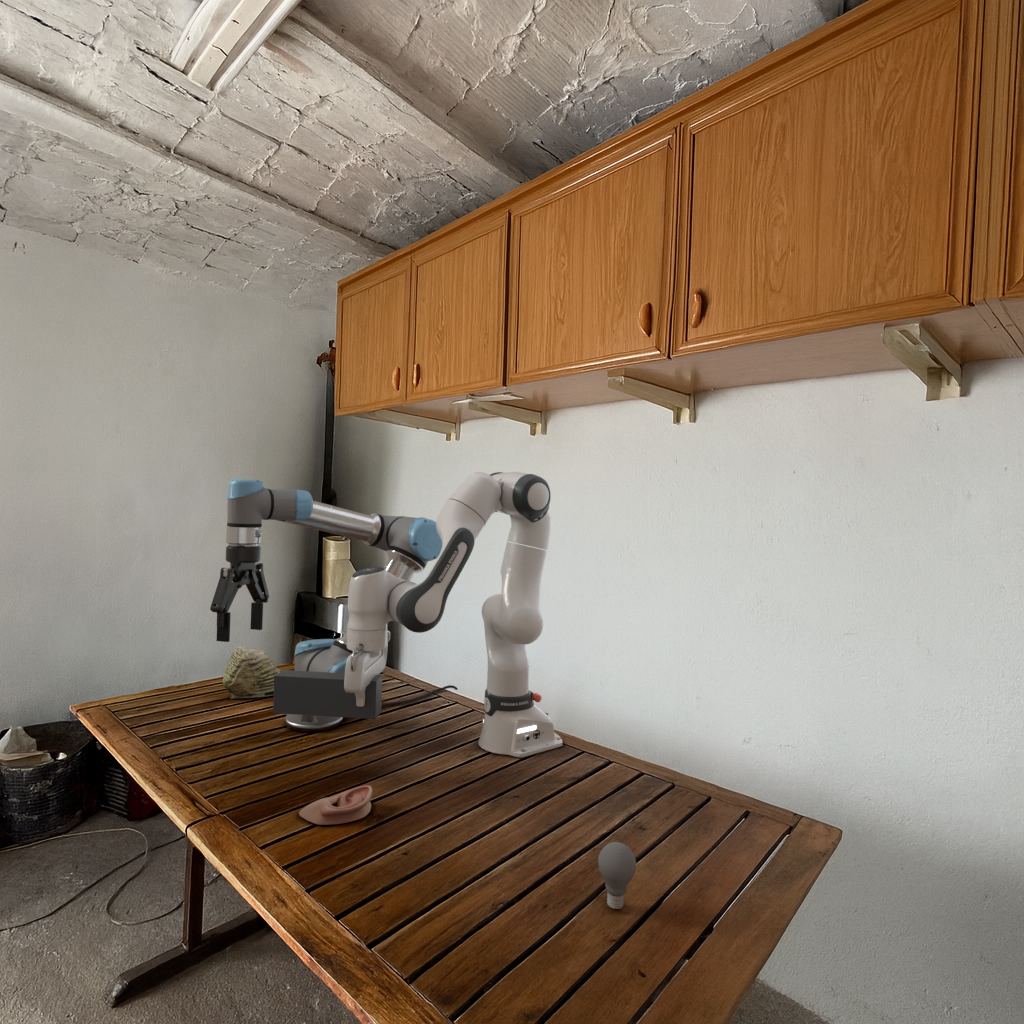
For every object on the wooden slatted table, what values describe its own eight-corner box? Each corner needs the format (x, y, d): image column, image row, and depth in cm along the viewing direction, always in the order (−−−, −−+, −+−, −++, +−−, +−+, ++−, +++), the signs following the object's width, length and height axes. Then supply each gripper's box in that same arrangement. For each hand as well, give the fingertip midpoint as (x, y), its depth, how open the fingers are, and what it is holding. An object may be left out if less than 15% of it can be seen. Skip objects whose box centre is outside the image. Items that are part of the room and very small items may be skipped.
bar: (273, 713, 142) (273, 675, 142) (282, 706, 147) (283, 669, 146) (375, 719, 140) (376, 681, 140) (381, 711, 145) (382, 675, 145)
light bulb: (592, 894, 104) (595, 834, 104) (628, 894, 104) (631, 834, 104) (600, 919, 98) (603, 855, 98) (638, 918, 99) (641, 855, 98)
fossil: (218, 695, 195) (220, 647, 195) (278, 685, 208) (279, 640, 207) (228, 703, 189) (230, 653, 188) (289, 692, 201) (290, 645, 201)
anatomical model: (291, 800, 123) (320, 775, 134) (290, 820, 123) (320, 794, 134) (354, 810, 120) (379, 784, 132) (353, 830, 121) (378, 803, 132)
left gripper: (226, 549, 136) (223, 648, 136) (285, 542, 160) (282, 626, 161) (194, 547, 137) (191, 645, 137) (257, 541, 161) (254, 623, 162)
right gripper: (366, 651, 132) (365, 717, 132) (392, 631, 152) (390, 688, 152) (337, 650, 132) (335, 715, 133) (366, 629, 153) (365, 686, 153)
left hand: (240, 635), depth 149 cm, fingers open, 13 cm apart
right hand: (365, 700), depth 143 cm, fingers closed on bar, 5 cm apart
